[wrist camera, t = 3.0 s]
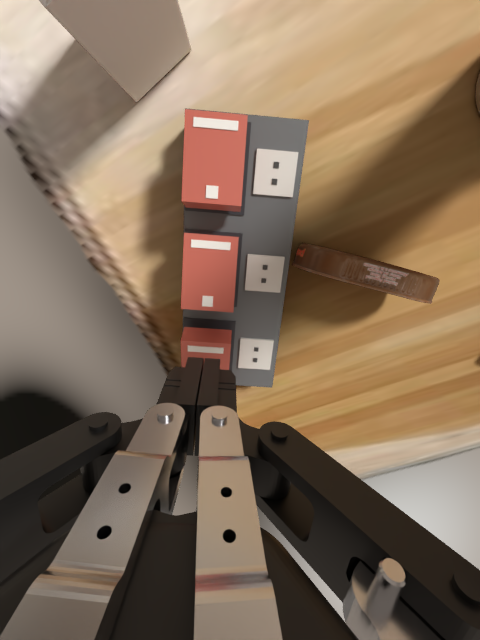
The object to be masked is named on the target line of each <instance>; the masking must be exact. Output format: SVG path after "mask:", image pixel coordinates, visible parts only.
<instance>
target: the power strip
mask: <svg viewBox="0 0 480 640" xmlns="http://www.w3.org/2000/svg"><path fill="white" fill-rule="evenodd" d="M190 110H195V109H190ZM200 111H206V110H200ZM210 112H216V111H210ZM221 113H227V112H221ZM231 114H237V113H231ZM242 115H247V114H242ZM308 123H309V120H300V119H289V118H279V117H268V116H258V115H248V119H247V133H246V147H245V161H244V175H243V189H242V203H241V212H234V211H222V210H210V209H198V208H186V207H185V205H184V233H194V234H207V235H219V236H232V237H239V240H238V254H237V268H236V282H235V297H234V311H233V312H219V311H205V310H191V309H183V330H184V327H194V328H209V329H224V330H232V335H231V351H230V363H229V370H231V371H232V372H233V374H234V375H235V376H236V385H241V386H257V387H272V385H273V378H274V370H275V363H276V356H277V349H278V341H279V334H280V327H281V319H282V312H283V305H284V298H285V290H286V283H287V276H288V269H289V261H290V254H291V247H292V239H293V232H294V225H295V218H296V210H297V203H298V196H299V189H300V181H301V174H302V167H303V159H304V152H305V145H306V138H307V130H308Z"/></svg>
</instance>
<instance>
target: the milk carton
mask: <svg viewBox="0 0 480 640" xmlns="http://www.w3.org/2000/svg"><path fill="white" fill-rule="evenodd" d="M39 1H40V2H41V3H42V5H43V6H44V7H45V8H46V9H47V10H48V11H49V12H50V13H51V14H52V15H53V16H54V17H55V18H56V19H57V20H58V22H59V23H60V24H61V25H62V26H63V27H64V28H65V29H66V30H67V31H68V32H69V33H70V34H71V35H72V36H73V37H74V38H75V39H76V40H77V41H78V42H79V43H80V44H81V45H82V47H83V48H84V49H85V50H86V51H87V52H88V53H89V54H90V55H91V56H92V57H93V58H94V59H95V60H96V61H97V62H98V63H99V64H100V65H101V66H102V67H103V68H104V69H105V70H106V72H107V73H108V74H109V75H110V76H111V77H112V78H113V79H114V80H115V81H116V82H117V83H118V84H119V85H120V86H121V87H122V88H123V89H124V90H125V91H126V92H127V93H128V94H129V95H130V97H131V98H132V99H133V100H134V101H135V102H138V101H139V100H140V99H141V98H142V97H143V96H144V95H145V94H146V93H147V92H148V91H149V90H150V89H151V88H152V87H153V86H154V85H155V84H156V83H157V82H158V81H159V80H160V79H162V78H163V77H164V76H165V75H166V74H167V73H168V72H169V71H170V70H171V69H172V68H173V67H174V66H175V65H176V64H177V63H178V62H179V61H180V60H181V59H182V58H183V57H184V56H185V55H186V54H187V53H189V52H190V51H191V45H190V42H189V38H188V34H187V31H186V27H185V24H184V20H183V17H182V13H181V10H180V6H179V3H178V0H39Z"/></svg>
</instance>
